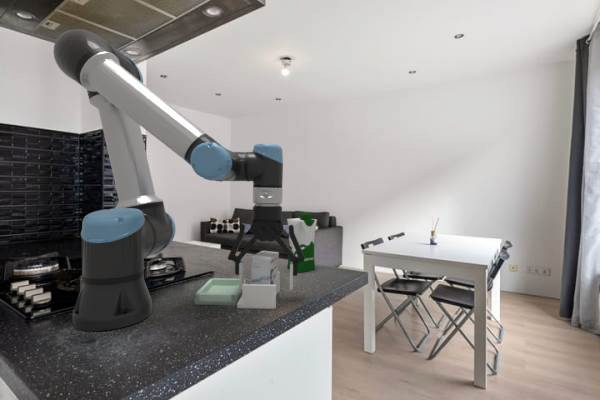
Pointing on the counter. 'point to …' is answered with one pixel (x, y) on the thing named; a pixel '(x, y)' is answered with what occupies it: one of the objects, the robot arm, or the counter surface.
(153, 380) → the counter surface
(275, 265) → the ink box
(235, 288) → the tray
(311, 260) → the milk carton
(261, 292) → the bay
